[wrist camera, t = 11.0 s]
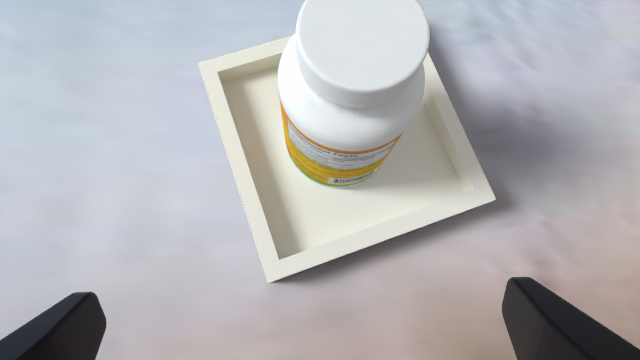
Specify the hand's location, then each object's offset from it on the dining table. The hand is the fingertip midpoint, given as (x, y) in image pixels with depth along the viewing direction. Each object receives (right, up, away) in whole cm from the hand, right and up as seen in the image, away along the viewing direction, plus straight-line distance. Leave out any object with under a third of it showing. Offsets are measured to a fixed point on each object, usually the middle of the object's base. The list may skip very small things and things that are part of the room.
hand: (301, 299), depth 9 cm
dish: (+2, +5, +13) cm, 14 cm away
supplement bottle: (+1, +5, +13) cm, 13 cm away
